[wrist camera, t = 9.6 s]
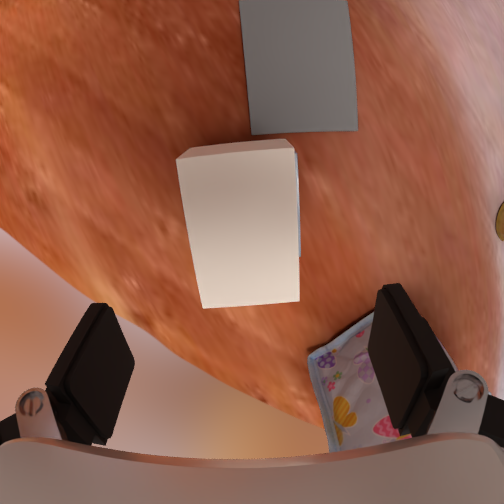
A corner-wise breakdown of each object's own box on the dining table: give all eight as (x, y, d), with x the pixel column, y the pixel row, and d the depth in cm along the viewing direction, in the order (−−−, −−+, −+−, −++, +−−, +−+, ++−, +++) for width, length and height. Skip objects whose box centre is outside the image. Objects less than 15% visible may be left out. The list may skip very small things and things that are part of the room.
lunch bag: (460, 365, 39) (527, 501, 16) (371, 419, 44) (407, 561, 20) (419, 272, 31) (550, 481, 8) (296, 353, 36) (326, 579, 12)
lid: (190, 147, 21) (175, 159, 17) (285, 138, 21) (294, 147, 17) (209, 274, 25) (202, 308, 21) (291, 267, 25) (299, 301, 21)
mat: (239, 1, 20) (238, 0, 19) (345, 2, 19) (347, 0, 19) (251, 134, 25) (251, 135, 25) (356, 130, 25) (358, 131, 24)
